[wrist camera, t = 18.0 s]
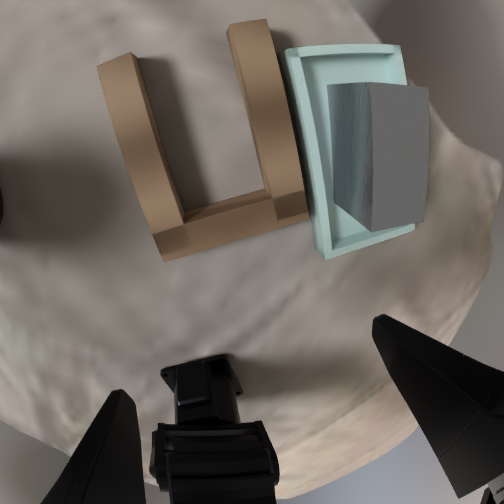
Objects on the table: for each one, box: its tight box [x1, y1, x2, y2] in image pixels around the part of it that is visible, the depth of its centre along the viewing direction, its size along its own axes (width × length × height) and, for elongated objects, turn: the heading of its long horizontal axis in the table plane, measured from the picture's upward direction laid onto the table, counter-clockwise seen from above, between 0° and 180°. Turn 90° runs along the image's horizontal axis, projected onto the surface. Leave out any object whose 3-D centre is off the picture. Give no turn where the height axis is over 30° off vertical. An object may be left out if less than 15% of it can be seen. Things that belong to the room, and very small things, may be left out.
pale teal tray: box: [279, 44, 415, 260], centre depth 18 cm, size 14×8×2 cm, turn 13°
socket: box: [97, 19, 309, 262], centre depth 16 cm, size 12×9×2 cm
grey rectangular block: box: [327, 82, 430, 232], centre depth 16 cm, size 8×4×5 cm, turn 7°
